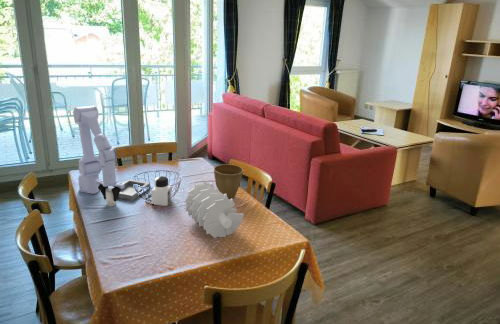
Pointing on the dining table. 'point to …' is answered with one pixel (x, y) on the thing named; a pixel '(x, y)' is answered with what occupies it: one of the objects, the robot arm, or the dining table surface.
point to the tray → (131, 190)
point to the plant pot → (228, 179)
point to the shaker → (109, 197)
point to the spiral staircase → (212, 210)
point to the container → (161, 191)
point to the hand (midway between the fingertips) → (111, 199)
